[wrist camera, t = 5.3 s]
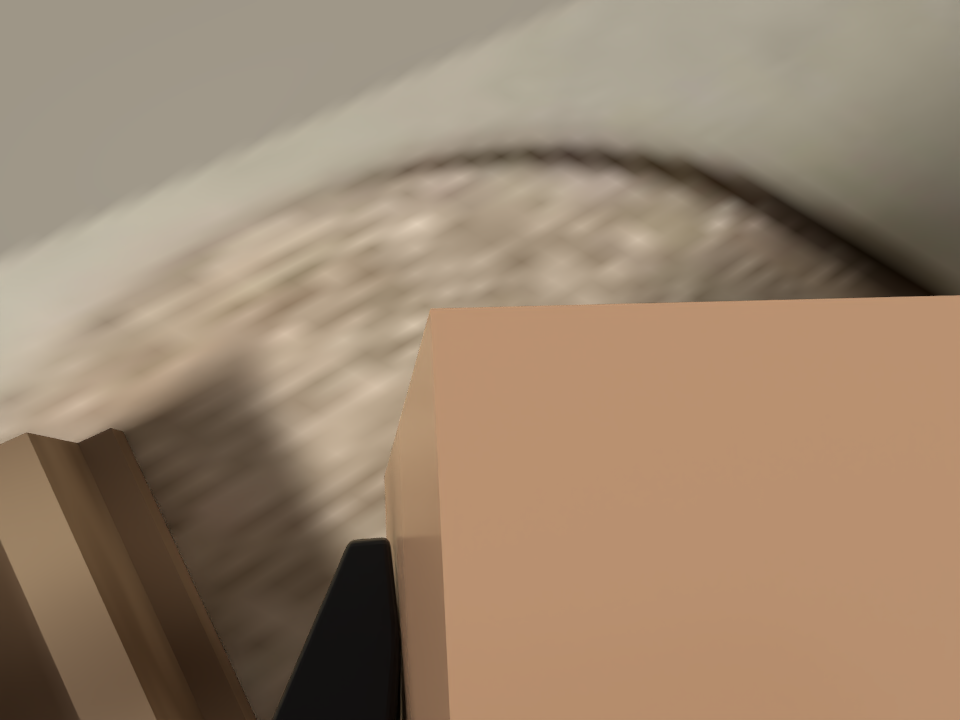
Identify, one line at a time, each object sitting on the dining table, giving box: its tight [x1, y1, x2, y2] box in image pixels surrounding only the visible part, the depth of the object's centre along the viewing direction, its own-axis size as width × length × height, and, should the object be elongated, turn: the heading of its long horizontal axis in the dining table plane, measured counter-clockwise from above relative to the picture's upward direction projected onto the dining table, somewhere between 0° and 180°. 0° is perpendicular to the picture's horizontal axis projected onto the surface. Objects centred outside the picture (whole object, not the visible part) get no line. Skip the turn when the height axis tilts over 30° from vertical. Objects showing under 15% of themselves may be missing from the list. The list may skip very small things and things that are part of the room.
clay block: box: [384, 295, 960, 720], centre depth 8 cm, size 5×2×13 cm, turn 3°
